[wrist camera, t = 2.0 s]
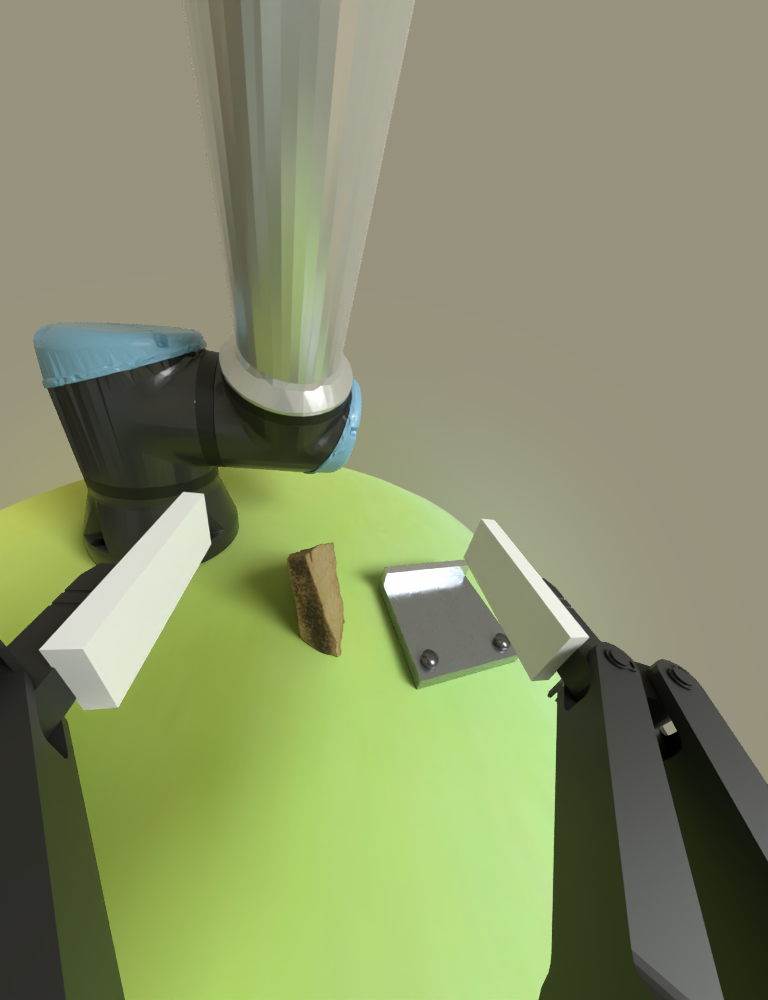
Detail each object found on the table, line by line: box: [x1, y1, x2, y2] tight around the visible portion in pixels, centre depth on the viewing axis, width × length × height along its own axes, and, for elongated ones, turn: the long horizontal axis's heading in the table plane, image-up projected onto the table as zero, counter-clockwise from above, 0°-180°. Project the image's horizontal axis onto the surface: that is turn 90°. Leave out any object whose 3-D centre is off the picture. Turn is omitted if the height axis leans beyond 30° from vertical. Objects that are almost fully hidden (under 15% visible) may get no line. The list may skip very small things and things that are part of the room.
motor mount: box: [379, 560, 518, 689], centre depth 32 cm, size 12×12×4 cm
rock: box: [287, 543, 344, 657], centre depth 30 cm, size 11×9×10 cm
